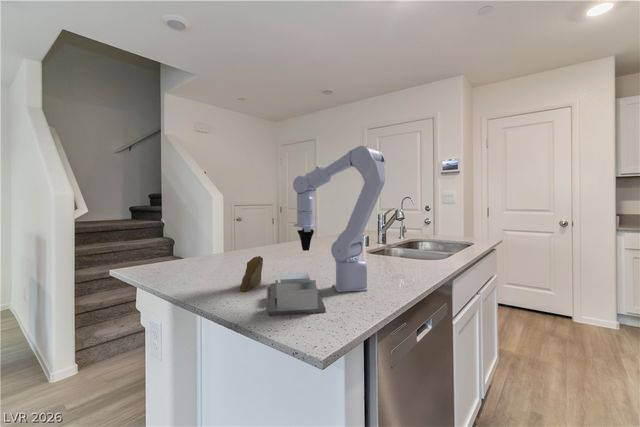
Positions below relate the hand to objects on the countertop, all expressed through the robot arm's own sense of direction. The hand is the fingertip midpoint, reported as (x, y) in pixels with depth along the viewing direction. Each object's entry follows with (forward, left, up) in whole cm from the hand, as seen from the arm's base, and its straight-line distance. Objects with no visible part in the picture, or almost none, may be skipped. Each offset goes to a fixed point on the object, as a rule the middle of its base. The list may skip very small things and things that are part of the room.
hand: (305, 250), depth 106 cm
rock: (+19, +5, -11) cm, 22 cm away
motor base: (+5, +18, -10) cm, 22 cm away
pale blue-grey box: (+4, +20, -9) cm, 22 cm away
